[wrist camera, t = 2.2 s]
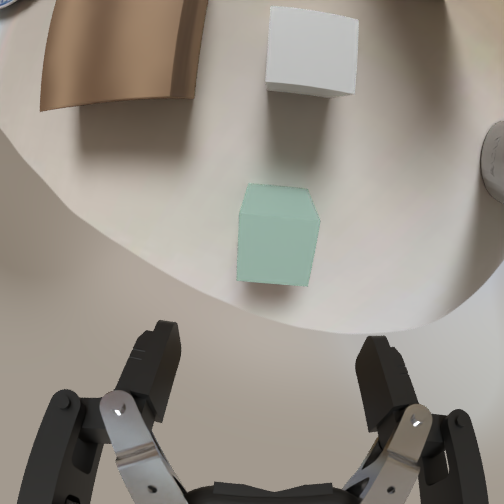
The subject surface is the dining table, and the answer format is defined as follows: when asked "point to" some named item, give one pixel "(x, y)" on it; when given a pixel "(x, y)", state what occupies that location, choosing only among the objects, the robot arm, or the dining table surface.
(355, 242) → the dining table surface
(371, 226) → the dining table surface
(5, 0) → the ceramic plate
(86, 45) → the walnut block
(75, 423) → the robot arm
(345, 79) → the grey block
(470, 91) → the dining table surface
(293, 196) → the sage block
